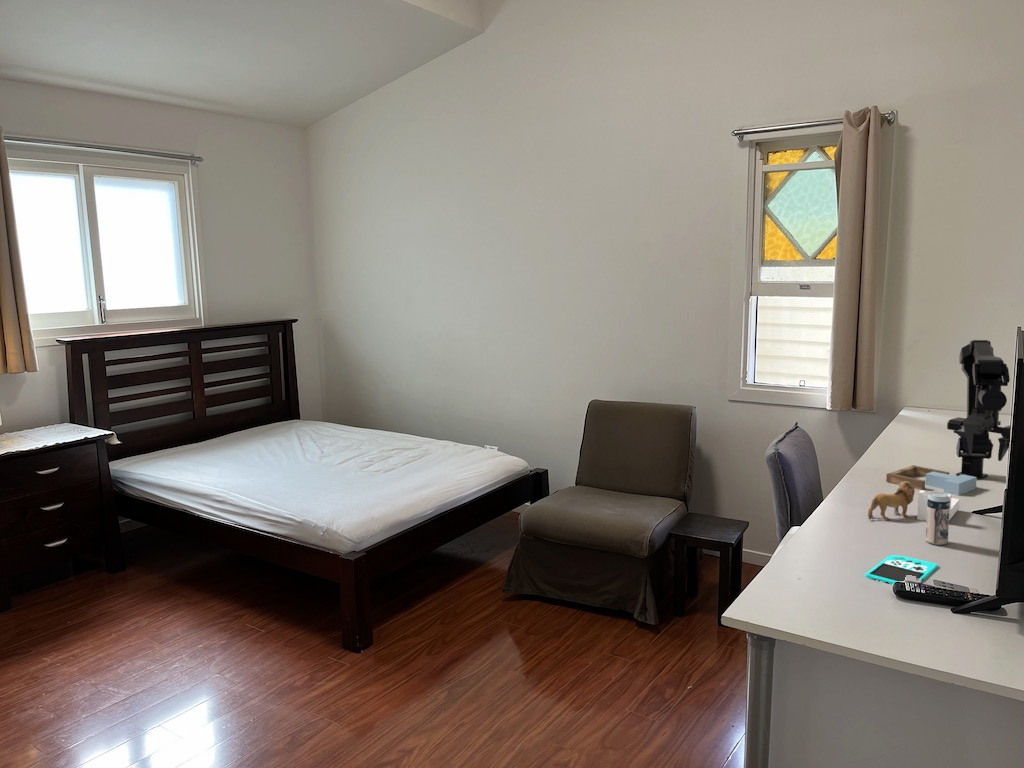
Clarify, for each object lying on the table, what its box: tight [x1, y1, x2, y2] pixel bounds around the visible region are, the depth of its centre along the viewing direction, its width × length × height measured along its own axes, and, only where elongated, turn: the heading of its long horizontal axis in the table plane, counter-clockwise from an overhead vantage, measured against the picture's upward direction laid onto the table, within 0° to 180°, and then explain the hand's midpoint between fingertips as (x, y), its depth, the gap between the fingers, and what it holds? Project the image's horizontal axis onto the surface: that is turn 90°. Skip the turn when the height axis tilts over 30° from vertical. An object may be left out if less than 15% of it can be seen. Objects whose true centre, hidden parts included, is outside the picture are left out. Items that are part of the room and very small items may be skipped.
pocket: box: [885, 465, 950, 491], centre depth 229 cm, size 15×11×2 cm
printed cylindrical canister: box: [925, 491, 950, 546], centre depth 180 cm, size 5×5×12 cm
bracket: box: [917, 489, 960, 522], centre depth 199 cm, size 13×7×8 cm, turn 139°
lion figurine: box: [867, 481, 916, 521], centre depth 199 cm, size 15×5×9 cm, turn 111°
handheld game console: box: [864, 554, 939, 585], centre depth 165 cm, size 10×16×1 cm, turn 134°
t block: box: [925, 471, 978, 496], centre depth 222 cm, size 10×11×4 cm
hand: (984, 457), depth 212 cm, fingers open, 8 cm apart
